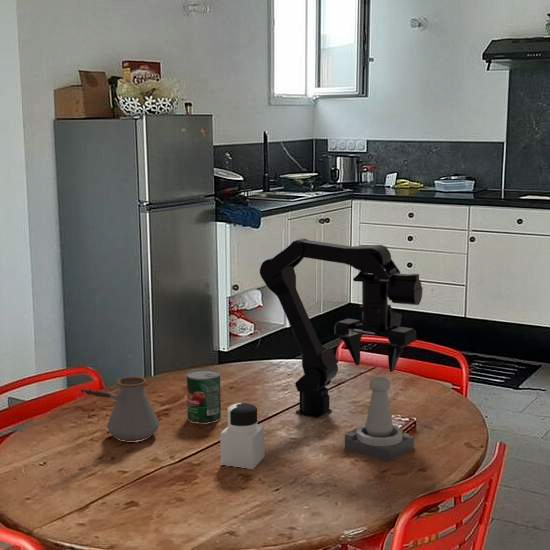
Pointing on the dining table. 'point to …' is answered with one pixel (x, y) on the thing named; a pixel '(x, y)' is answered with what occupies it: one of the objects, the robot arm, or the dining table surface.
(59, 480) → the dining table surface
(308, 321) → the robot arm
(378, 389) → the salt shaker
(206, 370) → the canned tomato
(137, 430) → the coffee pot
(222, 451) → the medicine bottle
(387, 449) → the ringed square socket
